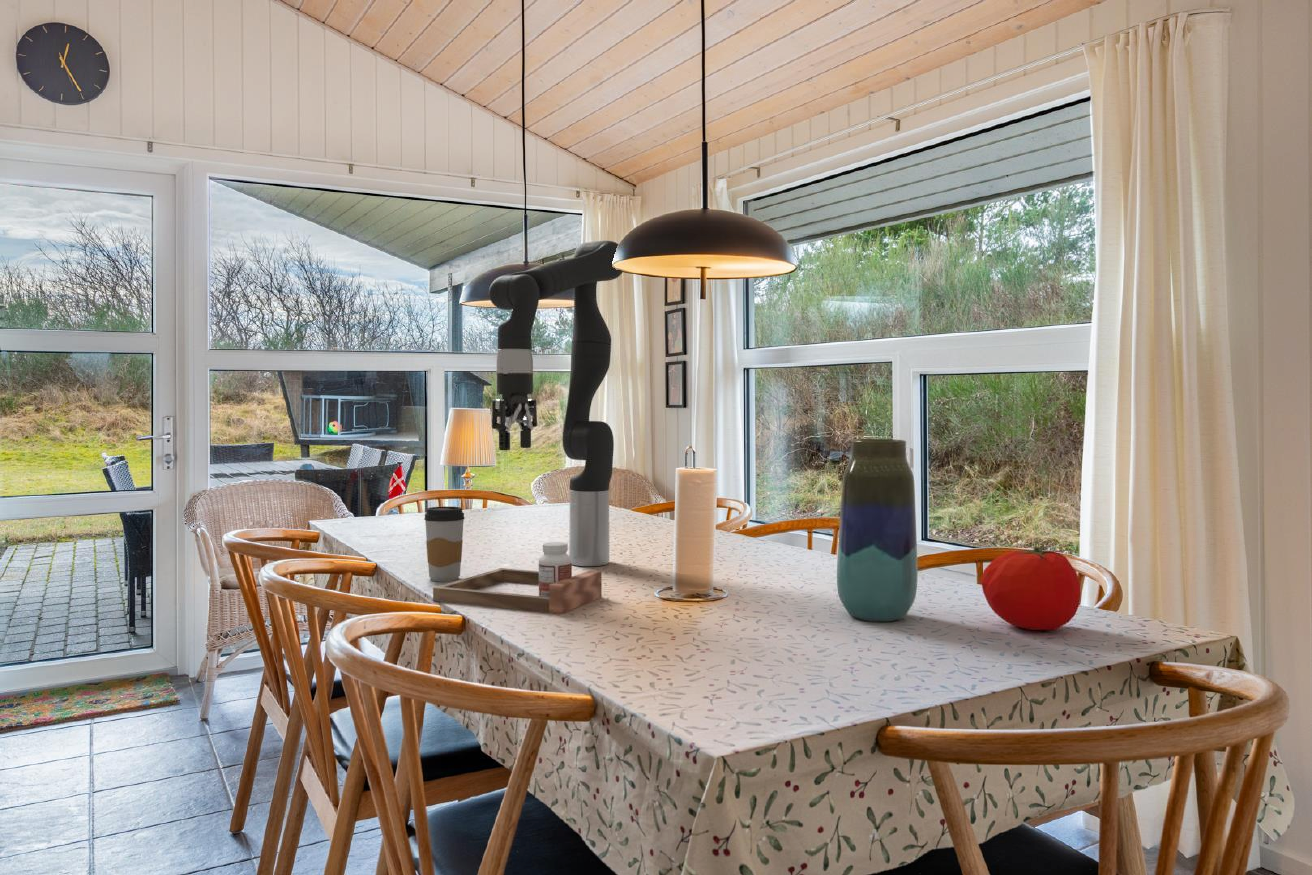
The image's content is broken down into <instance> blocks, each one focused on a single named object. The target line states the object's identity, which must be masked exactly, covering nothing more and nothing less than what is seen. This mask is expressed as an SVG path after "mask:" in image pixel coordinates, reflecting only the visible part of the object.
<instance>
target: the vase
mask: <svg viewBox="0 0 1312 875" xmlns="http://www.w3.org/2000/svg"><path fill="white" fill-rule="evenodd" d="M850 450H851V453H850V456H851V457H850V459H849V461H848V463H847V465H846V468H845V470H844V473H843V476H842V484H841V485H842V487H841V499H840V516H839V528H838V529H839V532H838V544H837V560H836V561H837V563H836V565H837V566H836V585H837V594H838V597H839V600H840V602H841V604H842V606H843V608H844V609H845V610H846V612H848V614H849V615H850V616H852V617H854V618H856V619H857V620H861V621H862V620H863V621H869V622H878V623H879V622H881V623H882V622H893V621H898V620H901V619H903V617H905V616H906V615H907V614H908V612H909V611H910V610H911V608H912V606H913V604H914V602H915V601H916V600H915V599H916V596H917V591H918V590H917V589H918V574H919V573H918V572H919V571H918V569H919V568H918V543H917V542H918V539H917V513H916V494H915V493H916V491H915V490H916V489H915V477H914V474H913V470H912V469H911V466H910V464H909V462H908V459H907V442H906V440H904V439H889V438H888V439H887V438H883V439H882V438H859V439H858V438H857V439H852V440H851V449H850Z"/></svg>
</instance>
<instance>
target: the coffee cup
mask: <svg viewBox="0 0 1312 875" xmlns="http://www.w3.org/2000/svg"><path fill="white" fill-rule="evenodd" d="M464 520H465V512H463V508H462V507H460V506H431V507H427V508H426V512H425V513H424V522H425V535H426V542H425V544H426V558H427V563H428V577H429V578H430V581H432V582H455V581H458V580H460V579H459V578H460V576H461V564H462V558H463V557H462V555H463V553H462V552H463V543H464V542H463V537H464V536H463V535H464Z"/></svg>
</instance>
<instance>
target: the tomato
mask: <svg viewBox="0 0 1312 875" xmlns="http://www.w3.org/2000/svg"><path fill="white" fill-rule="evenodd" d="M1044 547H1045V544H1042V546H1040V548H1039V547H1038V546H1034V547H1033V550H1030V549H1023V550H1013V551H1009V552H1005V553H1003V554H1002V555H999V556H998V557H996V558H994V559H993V560H992V561H991V562H990V563H989V564H988V565H987V566H986V567H985V569H984V570H983V571H982V572H983V573H982V576H981V579H980V583H981V588H982V592H983V593H982V594H983V595H984V598H985V600H986V601H987V604H988V606H989V607H990V608H991V610H992V611H993V612H994V614H996V615H997V616H998V617H999V618H1000V619H1002V621H1005V622H1006V623H1008V624H1010V625H1012V626H1014V627H1019V628H1021V629H1024V628H1025V630H1028V629H1030V630H1029V631H1054V630H1056V629H1058V628H1061V627H1062V626H1065V625H1067V624H1068V623H1070V621H1071V620H1073V619H1074V616H1076V613H1077V611H1078V609H1079V606H1080V600H1081V583H1080V580H1079V577H1078V573H1077V571H1076V570H1075V568H1074V567H1073V565H1072V564H1071V562H1070V561H1069V559H1068V558H1067V557H1066V556H1065V555H1064V554H1061V553H1060V552H1061V550H1043V549H1044Z"/></svg>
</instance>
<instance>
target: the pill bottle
mask: <svg viewBox="0 0 1312 875" xmlns="http://www.w3.org/2000/svg"><path fill="white" fill-rule="evenodd" d="M568 546H569V545H568V543H567V542H564V541H551V542H544V543H543V544H542V552H543V555H540V557H539V558H538V571H539V584H538V596H542V597H549V585H550V584H553V583H556V582H558V581H561V580H564V579H567V578H570V577H573V573H572V571H573V570H572V569H573V568H572V566H573V565H572V561H571V557H570V556H569V554H567V552H568V550H569V548H568Z"/></svg>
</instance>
